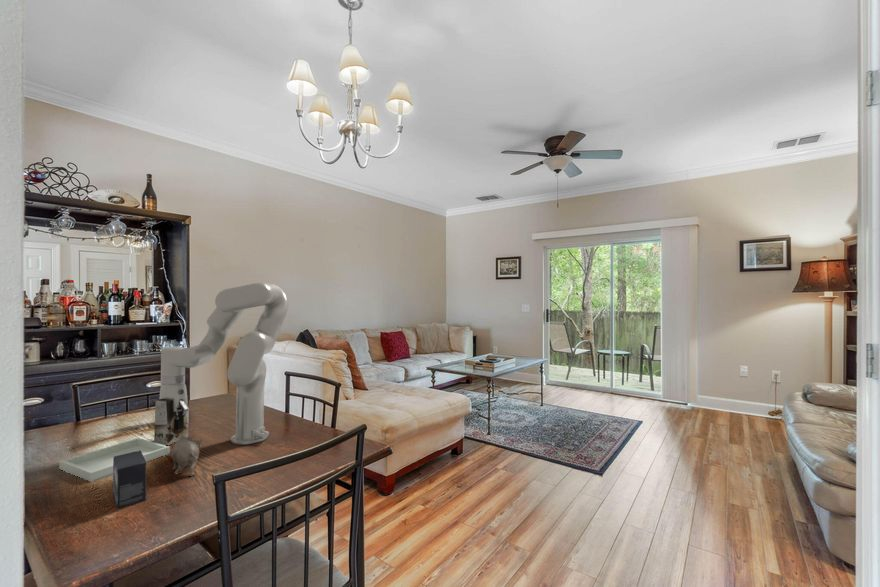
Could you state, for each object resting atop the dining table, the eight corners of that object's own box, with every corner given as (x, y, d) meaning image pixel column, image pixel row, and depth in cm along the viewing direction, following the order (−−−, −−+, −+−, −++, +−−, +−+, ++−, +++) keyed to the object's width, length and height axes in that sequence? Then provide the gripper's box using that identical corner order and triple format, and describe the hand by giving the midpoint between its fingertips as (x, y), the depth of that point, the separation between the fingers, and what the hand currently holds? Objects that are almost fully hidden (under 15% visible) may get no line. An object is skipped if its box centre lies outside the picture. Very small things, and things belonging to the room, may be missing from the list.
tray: (169, 454, 133) (169, 446, 133) (90, 482, 113) (91, 473, 113) (138, 445, 141) (138, 437, 141) (59, 469, 121) (59, 461, 121)
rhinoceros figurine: (164, 476, 112) (174, 424, 120) (166, 487, 122) (175, 438, 130) (195, 473, 116) (203, 423, 124) (195, 484, 125) (202, 437, 134)
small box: (111, 493, 107) (112, 455, 107) (141, 486, 112) (141, 449, 112) (115, 509, 99) (116, 468, 100) (147, 500, 104) (147, 461, 104)
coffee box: (168, 446, 140) (169, 401, 141) (153, 444, 142) (154, 400, 142) (189, 437, 149) (190, 395, 149) (175, 435, 151) (175, 393, 151)
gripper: (198, 380, 146) (197, 427, 145) (168, 375, 153) (167, 421, 153) (177, 384, 139) (176, 434, 139) (147, 379, 146) (146, 426, 146)
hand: (172, 427), depth 146 cm, fingers closed on coffee box, 7 cm apart
